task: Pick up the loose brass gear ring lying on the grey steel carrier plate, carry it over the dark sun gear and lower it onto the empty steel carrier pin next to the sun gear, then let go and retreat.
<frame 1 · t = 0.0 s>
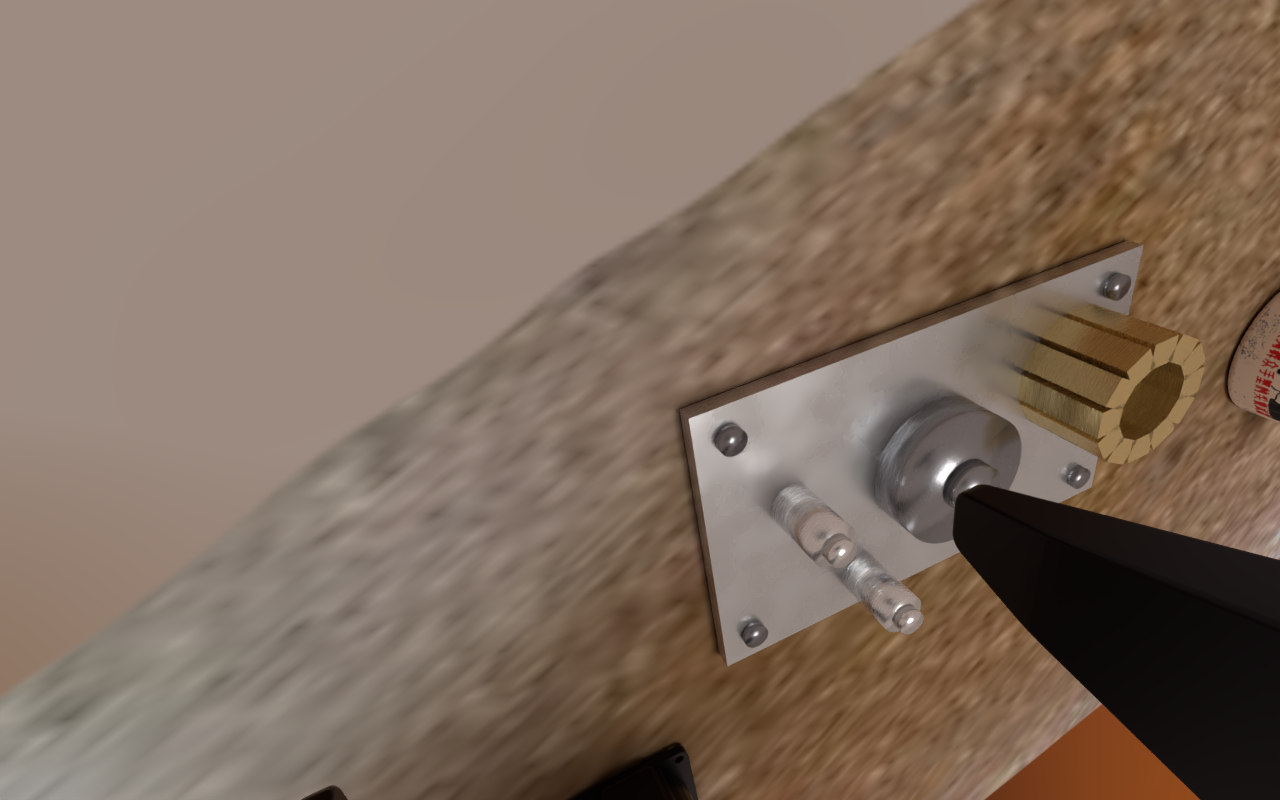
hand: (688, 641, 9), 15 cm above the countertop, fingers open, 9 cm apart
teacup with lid: (1264, 361, 42), on the countertop
carrier plate: (918, 451, 33), on the countertop
planet gear: (1068, 366, 33), point 1 cm above the countertop, touching carrier plate
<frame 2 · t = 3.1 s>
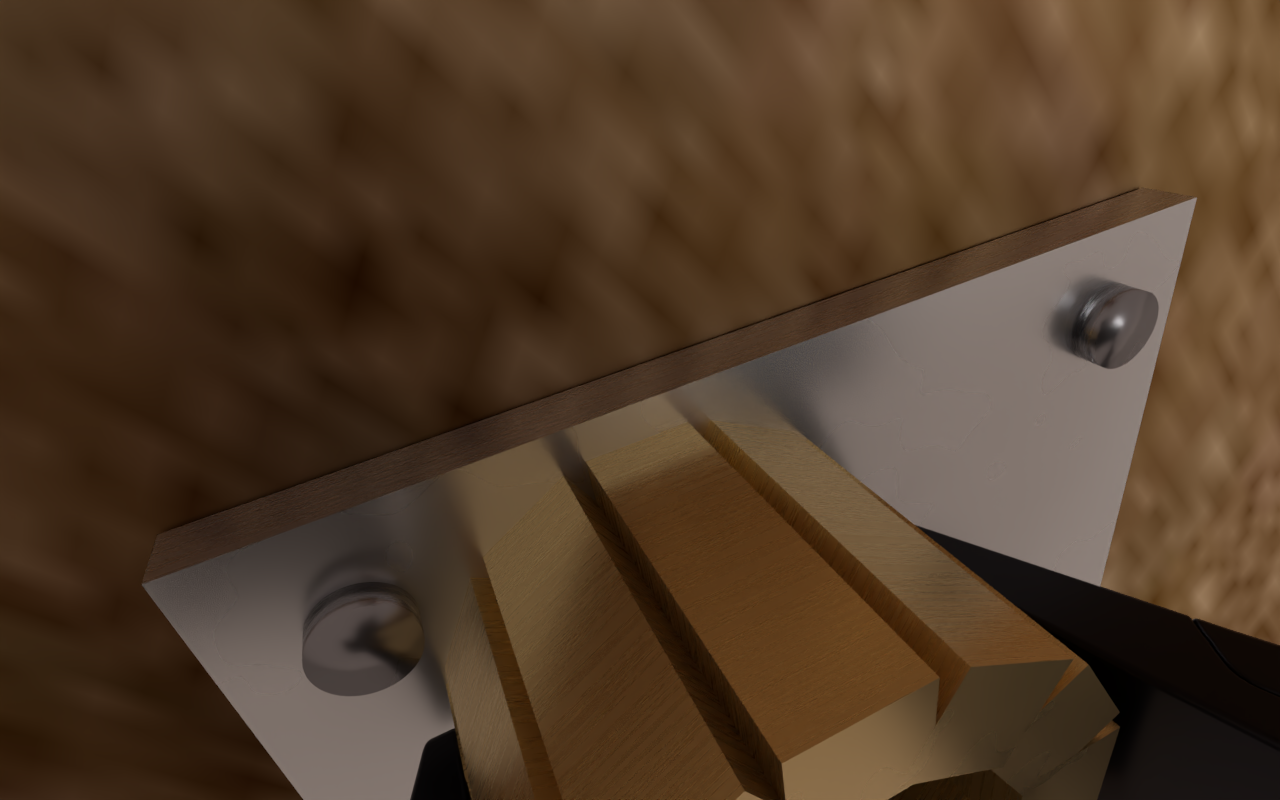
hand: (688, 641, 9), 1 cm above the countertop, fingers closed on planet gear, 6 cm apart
planet gear: (674, 618, 10), point 1 cm above the countertop, touching carrier plate, gripper
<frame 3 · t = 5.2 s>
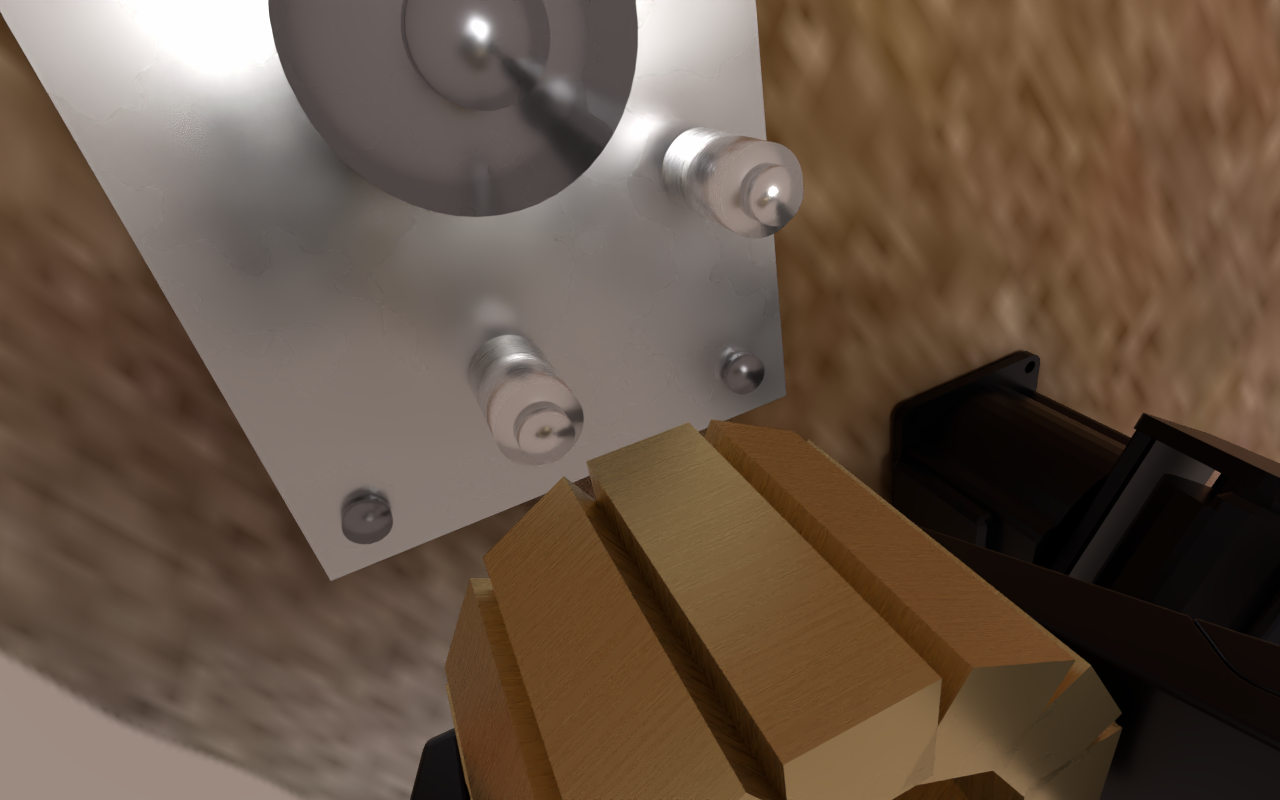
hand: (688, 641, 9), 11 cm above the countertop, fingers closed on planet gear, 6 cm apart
carrier plate: (445, 34, 15), on the countertop
planet gear: (674, 619, 10), point 10 cm above the countertop, touching gripper
when the fingers open (3 cm above the countertop, at t = 7.6 s): planet gear drops 2 cm, resting on carrier plate.
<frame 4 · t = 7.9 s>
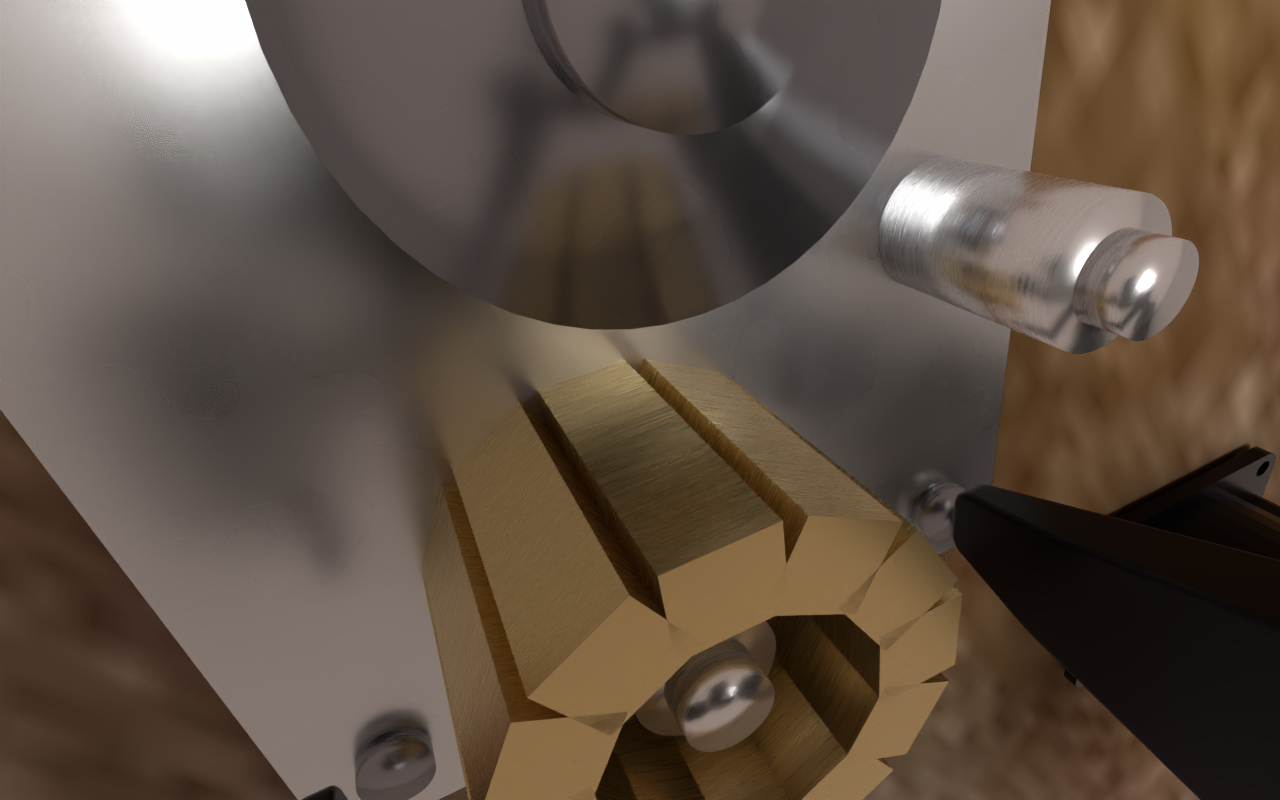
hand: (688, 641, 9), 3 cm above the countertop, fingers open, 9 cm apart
planet gear: (621, 535, 11), point 1 cm above the countertop, touching carrier plate
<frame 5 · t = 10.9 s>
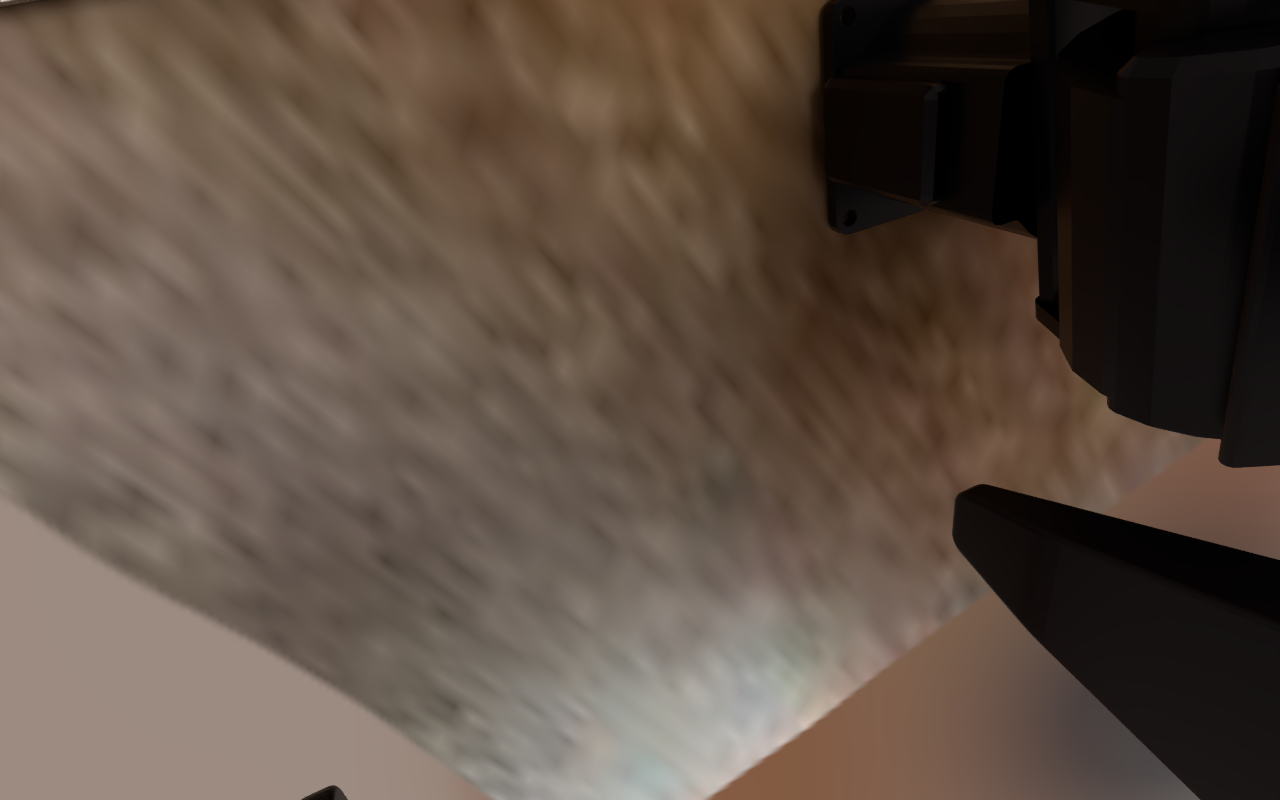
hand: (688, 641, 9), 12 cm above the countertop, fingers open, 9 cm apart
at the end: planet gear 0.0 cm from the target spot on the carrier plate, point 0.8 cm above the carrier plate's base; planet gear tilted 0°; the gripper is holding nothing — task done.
